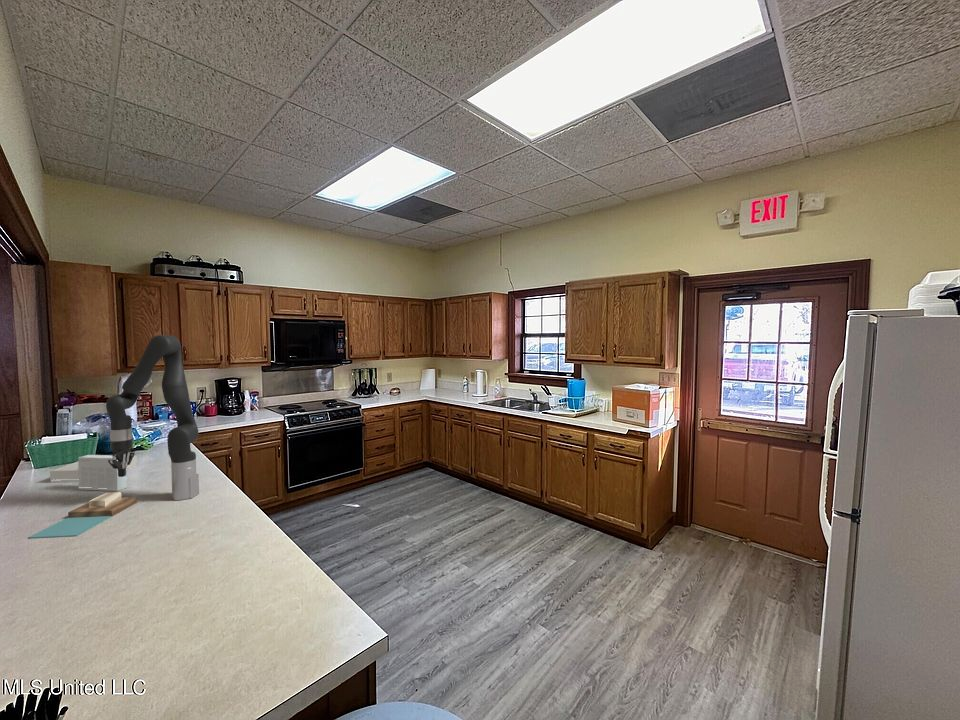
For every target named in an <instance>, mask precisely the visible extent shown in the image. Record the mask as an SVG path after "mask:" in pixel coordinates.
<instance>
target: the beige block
mask: <svg viewBox="0 0 960 720" xmlns="http://www.w3.org/2000/svg"><path fill="white" fill-rule="evenodd" d="M122 498H123V497H122V492H120V491H114V492H104V493H103V494H100V495H99V496H97V497H94V498H93V499H91V500H89V501H88V503H89V508H105V507H107V506H109V505H111V504H113V503H115V502H117V501H119V500H121V499H122Z"/></svg>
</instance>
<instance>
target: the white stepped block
mask: <svg viewBox="0 0 960 720" xmlns="http://www.w3.org/2000/svg"><path fill="white" fill-rule="evenodd" d="M136 464H137V465H136ZM134 465H135V466H134ZM132 466H133V467H132ZM129 467H130V468H129ZM136 467H138V455H134V457H133V459H132V461H131V463H130V465H127V468H128V469H127V472H128V471H129V470H132V469H134V468H136ZM49 475H50V476H49V479H50V480H53V479H55V480H56V479H79V477H78V460H77V461H75V462H73V463H69V464H67V465H63V466H60V467H58V468H55V469H52V470H50V471H49ZM50 483H51V484H52V483H54V484H55V483H56V484H57V483H79V480H61V481H50Z"/></svg>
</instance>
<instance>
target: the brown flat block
mask: <svg viewBox="0 0 960 720" xmlns="http://www.w3.org/2000/svg"><path fill="white" fill-rule="evenodd" d="M137 499H138V498H137V496H132V497H131V496H130V497H129V496H128V497H122V499H121V500H119V501H117V502H115V503H113V504H111V505H109V506H107V507H105V508H89V502H87V503H85V504H83V505H81V506H78V507H77V508H74V509H73V510H70V511H68V512H67V514H68V515H67V516H68V517H67V518H78V517H101V516H111V517H114V516H116V515H117V514H119V513H121V512H123V511H124V510H126V509H128V508H130V507H132V506H133V505H135V504H137V502H138V500H137Z"/></svg>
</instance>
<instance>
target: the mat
mask: <svg viewBox="0 0 960 720" xmlns="http://www.w3.org/2000/svg"><path fill="white" fill-rule="evenodd" d="M110 518H112V516H101V517H78V518H68V517H66V518H64V519H63V520H61V521H58V522H57V523H54V524H52V525H50V526H48V527H46V528H44V529H42V530H40V531H38V532H35V533H34V534H32V535H30V536H28V537H27V539H40V538H41V539H44V538H45V539H47V538H64V537H78V536H80V535H81V534H82V535H83V533H85V532H87V531H88V530H90V529H92V528H94V527H96V526H98V525H99V524H102V523H103V522H104V521H107V520H108V519H110Z"/></svg>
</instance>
